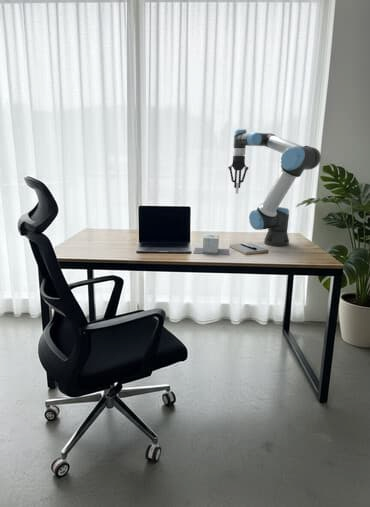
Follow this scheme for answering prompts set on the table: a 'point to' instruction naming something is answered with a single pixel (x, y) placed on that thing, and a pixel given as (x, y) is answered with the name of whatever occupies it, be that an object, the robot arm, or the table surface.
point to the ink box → (210, 243)
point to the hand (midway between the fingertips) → (236, 193)
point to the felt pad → (220, 252)
